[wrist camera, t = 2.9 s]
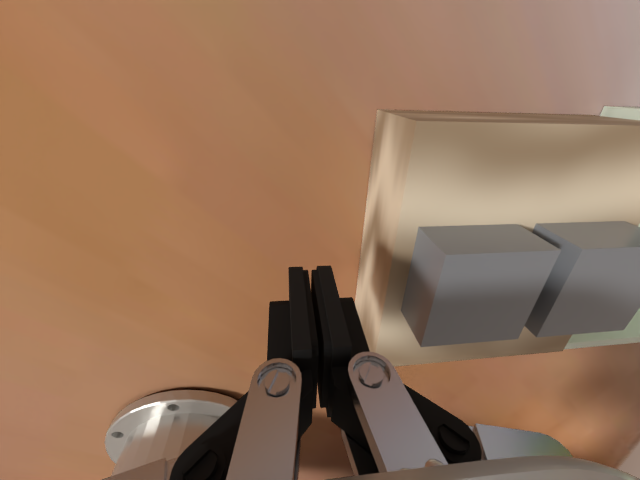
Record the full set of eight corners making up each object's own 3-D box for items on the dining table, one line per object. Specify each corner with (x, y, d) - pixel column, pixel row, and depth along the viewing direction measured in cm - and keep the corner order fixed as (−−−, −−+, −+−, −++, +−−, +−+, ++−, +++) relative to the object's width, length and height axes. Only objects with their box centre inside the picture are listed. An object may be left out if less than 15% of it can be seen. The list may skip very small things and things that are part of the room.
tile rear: (580, 298, 17) (623, 330, 15) (502, 303, 17) (536, 337, 14) (624, 221, 15) (684, 245, 13) (535, 223, 14) (582, 249, 12)
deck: (510, 301, 24) (562, 351, 20) (353, 311, 22) (372, 368, 18) (591, 115, 17) (697, 126, 13) (377, 109, 16) (416, 121, 11)
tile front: (486, 304, 16) (517, 338, 14) (400, 310, 16) (420, 347, 14) (517, 223, 14) (561, 250, 12) (418, 226, 13) (446, 255, 11)
